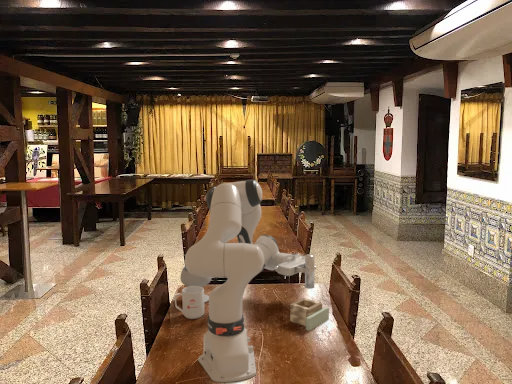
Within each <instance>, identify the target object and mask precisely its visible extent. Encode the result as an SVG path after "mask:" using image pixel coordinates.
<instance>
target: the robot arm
mask: <svg viewBox="0 0 512 384" xmlns="http://www.w3.org/2000/svg"><path fill="white" fill-rule="evenodd" d="M205 200H206V205H207V208H208V210H209V221H208V227H207V230H206V232H205V234H204V235H203V237H202V238H201V239H200V240H199V241H197V242H196V243H195V244H193V245H191V246H190V247H189V248H188V249H187V251H186V253H185V256H184V265H185V266H186V268H187V270H188V272H189V273H190V274H191V275H195V276H200V277H212V278H227V279H226V281H225V282H224V283H222V284H220V285H219V286H216V287H214V288H213V289H212V290H211V291H210V292H209V295H208V296H209V301H208V317H207V330H206V332H205V333H204V334H203V347H202V348H203V351H202V354H201V355H199V356H198V359H197V360H198V361H197V362H199V364H200V365H201V366H202V368H203V369H204V370H205V372H206V373H207V375H208V377H210V379H211V381H213V382H217V383H231V382H232V383H233V382H237V381H243V380H247V379H250V378H251V379H252V377H253V378H254V376H255V377H256V375H257V368H256V359H255V351H254V346H253V345H249V344H248V342H251V337H250V336H248V329H247V328H245V318H244V315H243V304H244V303H243V301H244V293H245V290H246V288H247V286H248V285H249V283H250V282H251V281H252V280H253V278H255V277H256V276H257V275H258V274H260V273H261V272H263V271H264V269H266V270H268V271H275V272H277V274H279V275H282V276H285V277H291V276H293V275H296V274H298V273H302V274H303V273H304V274H305V273H308V272H309V269H308V268H305V255H301V253H299V252H297V253H294V252H293V253H286V252H280V248H279V245H278V242H277V240H276V238H274V236H271V235H268V234H262V235H259V237H258V238H257V239H256V241H255V242H253V239H254V238H253V236H254V233H255V230H256V228H257V227H258V225H259V223H260V220H261V219H262V207H261V206H262V205H261V202H262V201H263V189H262V187H261V185H260V183H259V182H258V181H257V180H255V179H246V180H241V181H234V182H223V183H220V184H219V185H216V186H214V187H211V188H210V189H208V191H207V192H206V195H205ZM234 238H237V242H229V241H231V240H233V239H234ZM228 242H229V243H228ZM185 266H184V267H185ZM316 269H317V265H315V268H314V271H315V270H316Z"/></svg>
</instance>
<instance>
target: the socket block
mask: <svg viewBox="0 0 512 384" xmlns="http://www.w3.org/2000/svg"><path fill="white" fill-rule="evenodd" d="M289 308H290V310H289V311H290V315H289V318H290V322H292V323H293V324H294V323H295V324H298V325H301V326H304V327H306V317H308V316H310V315H312V314H314V313H315V312H317V311H319V310H321V309H323V303H322V302H319V301H315V300H312V299H309V298H304V297H303V298H300V299H299V300H297V301H294V302H293V303H292V302H291V303H290V307H289Z"/></svg>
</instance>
